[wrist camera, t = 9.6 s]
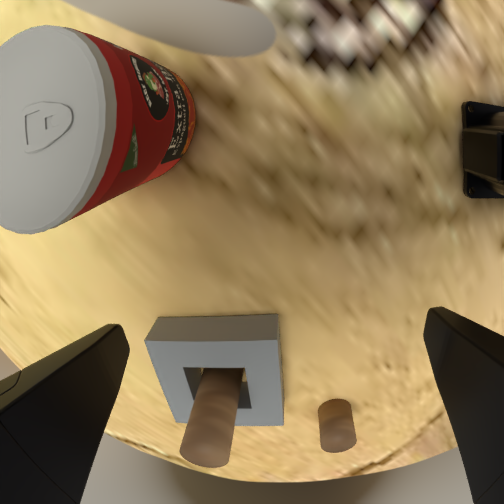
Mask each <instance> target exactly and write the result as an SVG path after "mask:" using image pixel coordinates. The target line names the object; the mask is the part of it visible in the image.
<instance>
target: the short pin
mask: <svg viewBox="0 0 504 504" xmlns="http://www.w3.org/2000/svg"><path fill="white" fill-rule="evenodd" d="M318 416H319V429H320V442H321V448H322V449H323V450H324V451H326V452H330V453H337V452H343V451H346V450H348V449H350V448H352V447H353V446H354V445H355V444H356V441H357V440H356V434H355V428H354V422H353V416H352V411H351V405H350V403H349V402H348V401H346V400H343V399H332V400H329V401H326V402H324V403H323V404H322V405H321V406H320V407H319V409H318Z"/></svg>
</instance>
